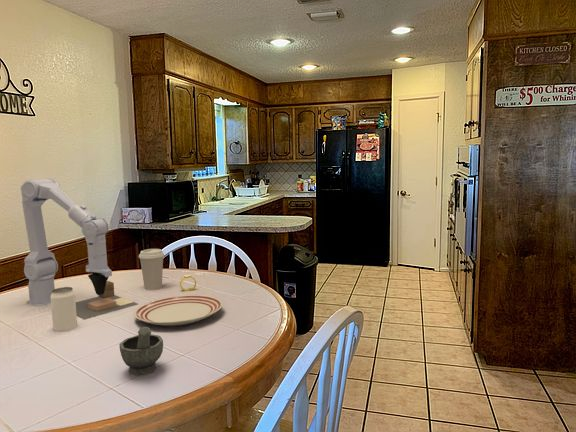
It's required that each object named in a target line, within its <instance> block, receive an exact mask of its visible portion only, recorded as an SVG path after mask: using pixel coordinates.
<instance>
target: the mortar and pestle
mask: <svg viewBox="0 0 576 432" xmlns="http://www.w3.org/2000/svg"><path fill="white" fill-rule="evenodd" d="M118 344H119V346H118V347H119V351H120V352H119V353H120V356H121V358H122V360H123V362H124V364H125V365H126V366H128V367H129V368H128V371H129V374H130V375H132V376H135V377H141V376H142V377H143V376H148V375H150V374H152V373H154V372H155V371H156V370H157V369H158V368H157V361H158V360H159V359H161V356H162V353H163V349H164V339H163V338H162V337H161V335H159V334H158V335H157V334H152V331H151V328H150V327H148V326H142V327H140V328H139V329H138V331H137V334H136V335H133V336H130V337H128V338H125V339H124V340H123V341H121V342H120V343H118Z"/></svg>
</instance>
